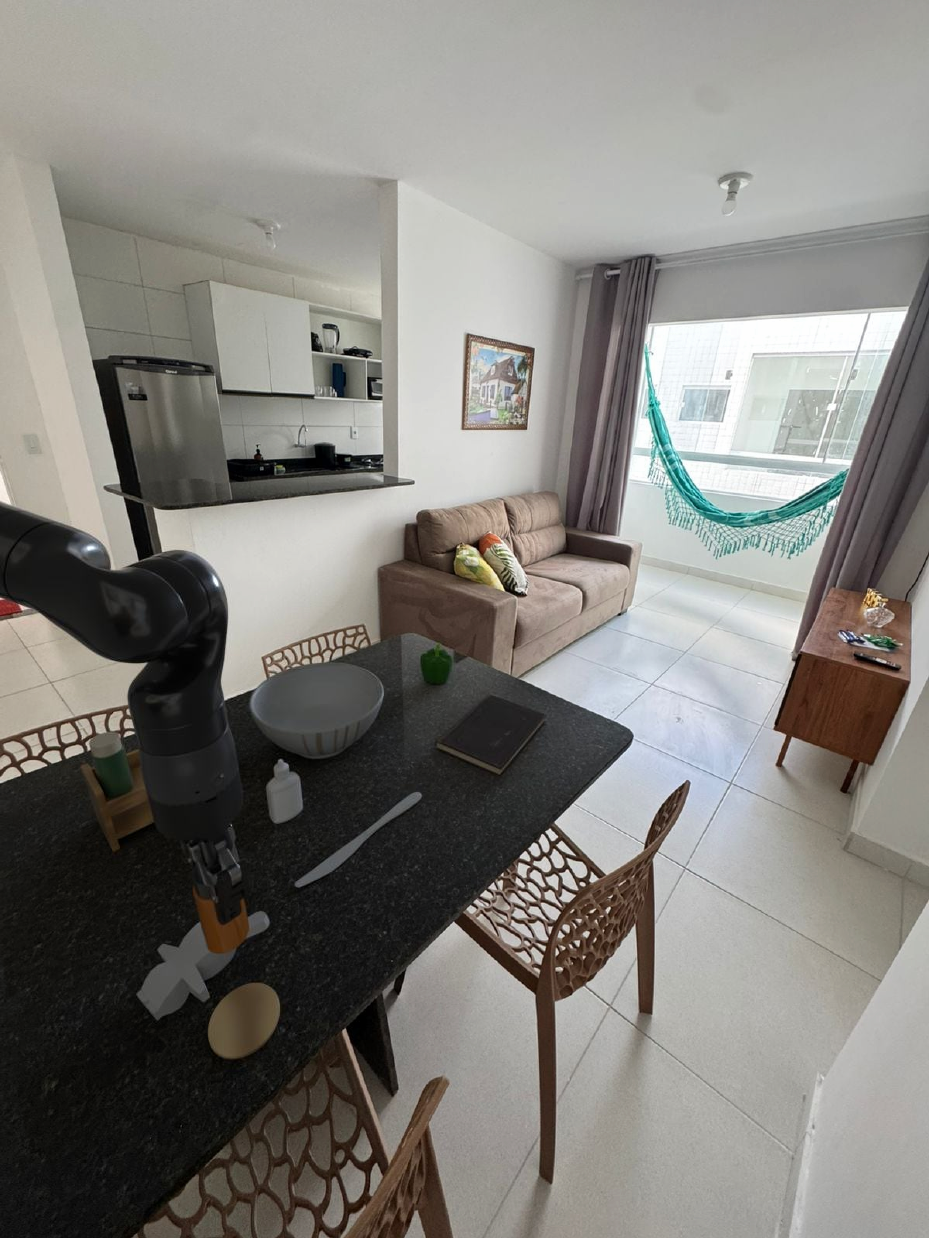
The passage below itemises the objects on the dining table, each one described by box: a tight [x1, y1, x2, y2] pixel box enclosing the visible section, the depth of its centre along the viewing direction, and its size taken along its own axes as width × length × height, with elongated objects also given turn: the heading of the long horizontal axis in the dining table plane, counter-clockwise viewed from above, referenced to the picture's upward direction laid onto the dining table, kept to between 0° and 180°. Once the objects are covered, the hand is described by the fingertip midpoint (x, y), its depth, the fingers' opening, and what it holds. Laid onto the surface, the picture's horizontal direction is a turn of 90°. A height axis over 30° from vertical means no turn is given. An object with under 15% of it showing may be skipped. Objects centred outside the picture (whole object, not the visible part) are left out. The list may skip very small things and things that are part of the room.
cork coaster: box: [207, 982, 281, 1060], centre depth 62 cm, size 8×8×1 cm
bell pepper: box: [419, 642, 453, 685], centre depth 135 cm, size 8×8×10 cm
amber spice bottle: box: [191, 863, 249, 954], centre depth 54 cm, size 4×4×10 cm
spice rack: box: [80, 748, 154, 853], centre depth 90 cm, size 20×9×12 cm, turn 136°
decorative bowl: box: [248, 661, 385, 760], centre depth 109 cm, size 27×27×12 cm
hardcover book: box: [435, 693, 547, 778], centre depth 115 cm, size 16×23×2 cm
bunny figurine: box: [136, 910, 270, 1021], centre depth 66 cm, size 10×5×15 cm
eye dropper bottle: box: [265, 758, 304, 825], centre depth 89 cm, size 4×6×12 cm
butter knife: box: [294, 791, 423, 888], centre depth 88 cm, size 1×27×3 cm
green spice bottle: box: [88, 731, 134, 798], centre depth 82 cm, size 4×4×10 cm
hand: (219, 900), depth 53 cm, fingers closed on amber spice bottle, 4 cm apart
